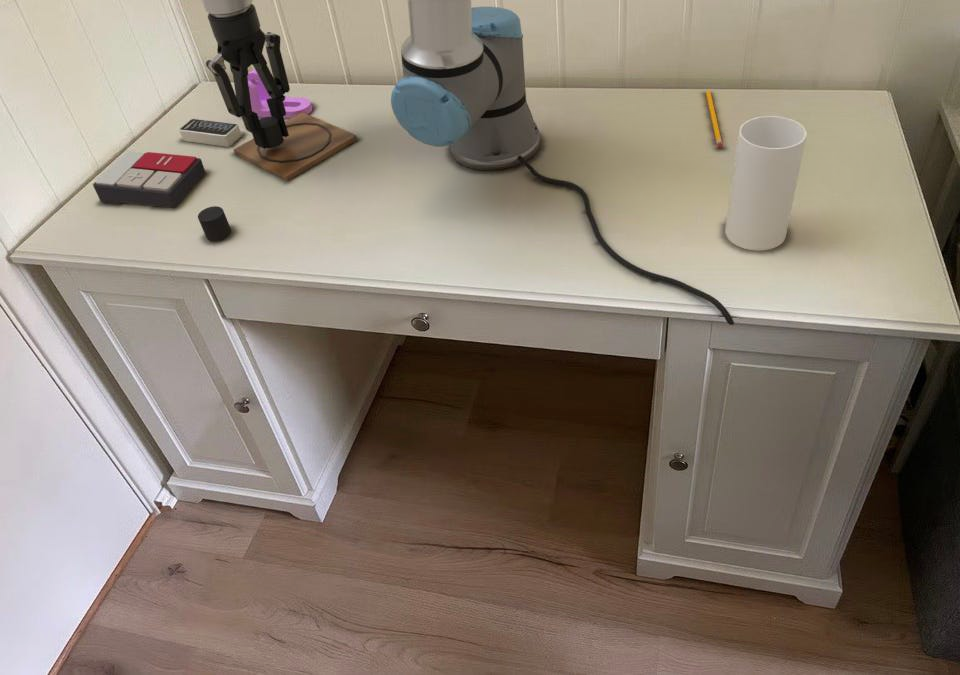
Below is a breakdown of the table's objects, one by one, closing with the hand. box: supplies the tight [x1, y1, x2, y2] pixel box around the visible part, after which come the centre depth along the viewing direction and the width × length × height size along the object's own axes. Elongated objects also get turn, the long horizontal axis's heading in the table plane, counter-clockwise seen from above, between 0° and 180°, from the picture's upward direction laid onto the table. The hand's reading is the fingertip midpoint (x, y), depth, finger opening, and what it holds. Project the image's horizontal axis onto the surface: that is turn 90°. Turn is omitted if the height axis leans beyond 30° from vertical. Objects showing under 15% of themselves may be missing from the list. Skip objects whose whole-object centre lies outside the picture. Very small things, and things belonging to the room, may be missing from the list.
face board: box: [233, 112, 358, 182], centre depth 142 cm, size 16×16×1 cm
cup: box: [724, 115, 808, 252], centre depth 106 cm, size 8×8×16 cm
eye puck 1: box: [197, 205, 232, 243], centre depth 124 cm, size 4×4×4 cm
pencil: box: [705, 89, 723, 149], centre depth 134 cm, size 1×18×1 cm, turn 174°
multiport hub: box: [178, 118, 243, 148], centre depth 147 cm, size 4×11×2 cm, turn 68°
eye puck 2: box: [259, 117, 284, 148], centre depth 139 cm, size 4×4×4 cm
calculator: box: [92, 150, 206, 209], centre depth 136 cm, size 11×4×15 cm
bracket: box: [247, 69, 313, 119], centre depth 151 cm, size 13×6×7 cm, turn 76°
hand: (272, 139), depth 140 cm, fingers closed on eye puck 2, 4 cm apart
